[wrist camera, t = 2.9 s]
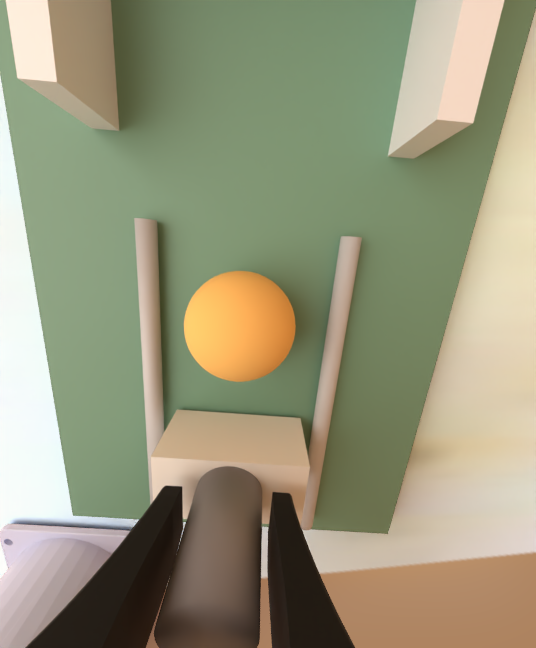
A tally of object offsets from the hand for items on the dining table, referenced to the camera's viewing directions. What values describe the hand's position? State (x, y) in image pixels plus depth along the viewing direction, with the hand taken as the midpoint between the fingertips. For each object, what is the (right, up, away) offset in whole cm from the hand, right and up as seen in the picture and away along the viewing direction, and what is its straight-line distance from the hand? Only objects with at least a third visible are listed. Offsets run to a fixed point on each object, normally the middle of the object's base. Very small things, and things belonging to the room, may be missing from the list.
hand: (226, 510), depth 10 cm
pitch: (+1, +8, +3) cm, 9 cm away
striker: (0, +1, +4) cm, 4 cm away
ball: (+1, +7, 0) cm, 7 cm away
